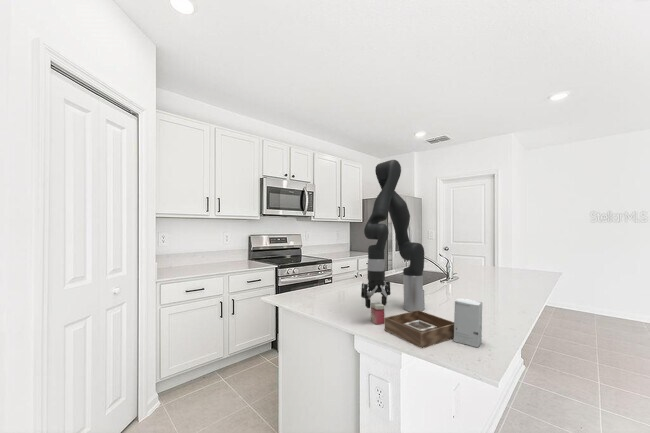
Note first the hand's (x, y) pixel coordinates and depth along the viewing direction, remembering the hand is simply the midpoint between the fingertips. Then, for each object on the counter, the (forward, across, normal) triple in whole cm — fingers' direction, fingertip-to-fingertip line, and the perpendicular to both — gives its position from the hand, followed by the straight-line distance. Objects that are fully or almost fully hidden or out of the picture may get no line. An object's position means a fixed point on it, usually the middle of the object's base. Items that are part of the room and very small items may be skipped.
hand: (376, 306), depth 123 cm
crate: (+7, -7, +18) cm, 21 cm away
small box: (+7, -1, 0) cm, 7 cm away
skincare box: (+7, -16, +33) cm, 37 cm away
